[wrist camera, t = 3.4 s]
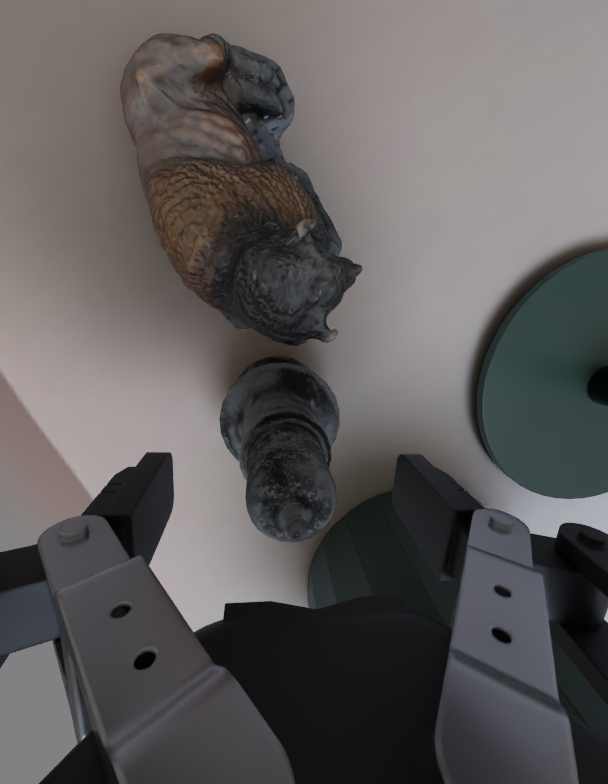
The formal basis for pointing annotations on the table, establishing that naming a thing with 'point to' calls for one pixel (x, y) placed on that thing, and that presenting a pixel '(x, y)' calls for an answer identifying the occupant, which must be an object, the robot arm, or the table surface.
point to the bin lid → (552, 384)
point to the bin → (416, 588)
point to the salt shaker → (283, 446)
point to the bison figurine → (232, 186)
